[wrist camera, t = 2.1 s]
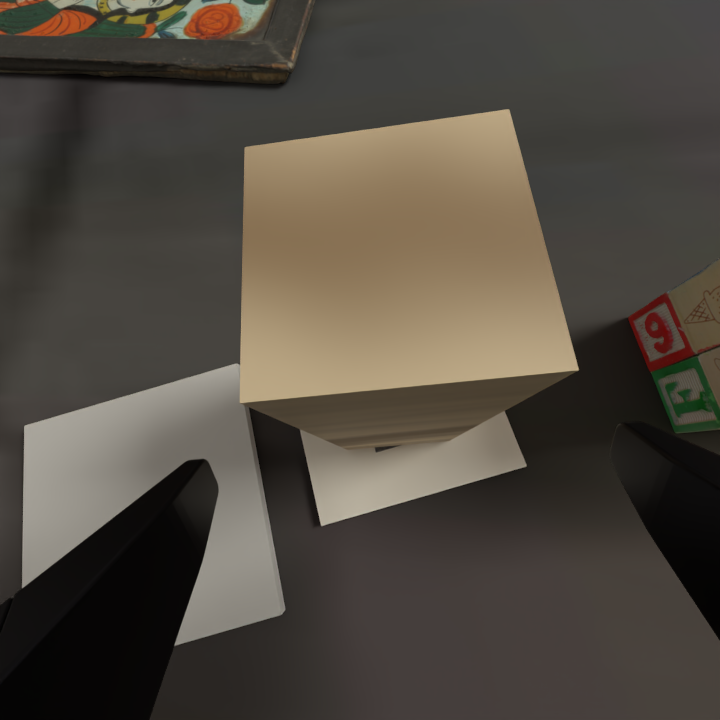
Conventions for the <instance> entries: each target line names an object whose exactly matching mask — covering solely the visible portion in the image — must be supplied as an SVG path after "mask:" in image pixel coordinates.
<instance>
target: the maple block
mask: <svg viewBox="0 0 720 720" xmlns="http://www.w3.org/2000/svg"><path fill="white" fill-rule="evenodd" d="M577 371H579V369H578V365H577V361H576V357H575V354H574V350H573V346H572V342H571V339H570V335H569V331H568V327H567V324H566V320H565V316H564V313H563V309H562V305H561V301H560V298H559V294H558V290H557V286H556V283H555V279H554V275H553V271H552V268H551V264H550V260H549V257H548V253H547V249H546V245H545V242H544V238H543V234H542V230H541V227H540V223H539V219H538V215H537V212H536V208H535V204H534V200H533V197H532V193H531V189H530V186H529V182H528V178H527V174H526V171H525V167H524V163H523V159H522V156H521V152H520V148H519V144H518V141H517V137H516V133H515V130H514V126H513V122H512V118H511V115H510V111H509V109H507V110H501V111H494V112H487V113H480V114H473V115H466V116H459V117H452V118H445V119H438V120H431V121H424V122H417V123H410V124H403V125H396V126H389V127H382V128H375V129H368V130H361V131H354V132H347V133H341V134H334V135H327V136H320V137H313V138H306V139H299V140H292V141H285V142H278V143H271V144H264V145H257V146H250V147H245V162H244V211H243V260H242V309H241V358H240V404H243V405H245V406H247V407H250V408H252V409H254V410H257V411H259V412H261V413H263V414H266V415H268V416H270V417H273V418H275V419H277V420H280V421H282V422H284V423H287V424H289V425H291V426H293V427H296V428H298V429H300V430H303V431H305V432H307V433H310V434H312V435H314V436H317V437H319V438H321V439H323V440H326V441H328V442H330V443H333V444H335V445H337V446H340V447H342V448H344V449H347V450H350V449H362V448H373V447H385V446H396V445H408V444H419V443H431V442H442V441H450V440H452V439H454V438H456V437H458V436H459V435H461V434H463V433H465V432H467V431H469V430H470V429H472V428H474V427H476V426H478V425H480V424H481V423H483V422H485V421H487V420H489V419H491V418H492V417H494V416H496V415H498V414H500V413H502V412H503V411H505V410H507V409H509V408H511V407H513V406H514V405H516V404H518V403H520V402H522V401H524V400H525V399H527V398H529V397H531V396H533V395H535V394H536V393H538V392H540V391H542V390H544V389H546V388H547V387H549V386H551V385H553V384H555V383H557V382H558V381H560V380H562V379H564V378H566V377H568V376H569V375H571V374H573V373H575V372H577Z"/></svg>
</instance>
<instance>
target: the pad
mask: <svg viewBox="0 0 720 720" xmlns="http://www.w3.org/2000/svg"><path fill="white" fill-rule="evenodd" d="M192 459H206V460H207V461H208V462H209V464H210V466H211V468H212V471H213V473H214V476H215V478H216V480H217V483H218V487H219V493H218V498H217V503H216V507H215V511H214V516H213V520H212V524H211V529H210V533H209V537H208V542H207V546H206V550H205V554H204V558H203V562H202V565H201V568H200V571H199V574H198V577H197V580H196V583H195V586H194V589H193V592H192V595H191V598H190V601H189V604H188V607H187V610H186V613H185V615H184V618H183V621H182V624H181V627H180V630H179V633H178V636H177V639H176V642H175V645H179V644H182V643H186V642H189V641H193V640H196V639H200V638H203V637H206V636H210V635H213V634H217V633H220V632H224V631H227V630H231V629H234V628H238V627H241V626H245V625H248V624H251V623H255V622H258V621H262V620H265V619H269V618H272V617H276V616H279V615H282V614H283V612H284V611H285V604H284V599H283V593H282V588H281V582H280V577H279V571H278V566H277V560H276V555H275V549H274V544H273V538H272V533H271V527H270V522H269V516H268V511H267V505H266V500H265V494H264V488H263V483H262V477H261V472H260V466H259V461H258V455H257V450H256V444H255V439H254V433H253V428H252V422H251V417H250V411H249V407H247V406H245V405H243V404H240V365H238V364H233V365H230V366H226V367H223V368H220V369H216V370H213V371H209V372H206V373H202V374H199V375H196V376H192V377H189V378H185V379H182V380H179V381H175V382H172V383H168V384H165V385H162V386H158V387H155V388H151V389H148V390H145V391H141V392H138V393H134V394H131V395H128V396H124V397H121V398H117V399H114V400H111V401H107V402H104V403H100V404H97V405H94V406H90V407H87V408H83V409H80V410H77V411H73V412H70V413H66V414H63V415H60V416H56V417H53V418H49V419H46V420H43V421H39V422H36V423H32V424H29V425H26V426H24V486H23V553H22V588H23V587H25V586H26V585H27V584H28V583H30V582H31V581H32V580H34V579H35V578H36V577H37V576H39V575H40V574H41V573H43V572H44V571H45V570H46V569H48V568H49V567H50V566H52V565H53V564H54V563H55V562H57V561H58V560H59V559H61V558H62V557H63V556H64V555H66V554H67V553H68V552H70V551H71V550H72V549H73V548H75V547H76V546H77V545H79V544H80V543H81V542H83V541H84V540H85V539H86V538H88V537H89V536H90V535H92V534H93V533H94V532H95V531H97V530H98V529H99V528H101V527H102V526H103V525H104V524H106V523H107V522H108V521H110V520H111V519H112V518H113V517H115V516H116V515H117V514H119V513H120V512H121V511H122V510H124V509H125V508H126V507H128V506H129V505H130V504H131V503H133V502H134V501H135V500H137V499H138V498H139V497H140V496H142V495H143V494H144V493H146V492H147V491H148V490H149V489H151V488H152V487H153V486H155V485H156V484H157V483H158V482H160V481H161V480H162V479H164V478H165V477H166V476H167V475H169V474H170V473H171V472H173V471H174V470H175V469H176V468H178V467H179V466H180V465H182V464H183V463H184V462H186V461H188V460H192ZM175 645H174V646H175Z"/></svg>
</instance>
